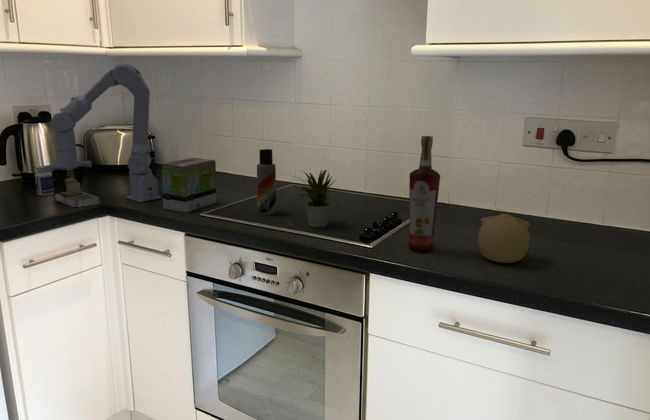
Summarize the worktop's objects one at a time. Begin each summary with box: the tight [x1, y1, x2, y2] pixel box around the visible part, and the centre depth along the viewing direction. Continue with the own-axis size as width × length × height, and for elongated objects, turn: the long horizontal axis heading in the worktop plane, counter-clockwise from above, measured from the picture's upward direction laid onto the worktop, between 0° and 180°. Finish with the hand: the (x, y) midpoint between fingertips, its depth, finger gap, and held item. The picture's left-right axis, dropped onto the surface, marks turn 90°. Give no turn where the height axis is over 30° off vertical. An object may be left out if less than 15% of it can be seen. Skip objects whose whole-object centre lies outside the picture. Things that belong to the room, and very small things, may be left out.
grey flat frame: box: [54, 190, 101, 208], centre depth 174 cm, size 15×8×2 cm, turn 49°
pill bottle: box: [34, 165, 55, 197], centre depth 183 cm, size 5×5×10 cm
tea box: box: [161, 157, 217, 213], centre depth 169 cm, size 15×10×15 cm, turn 155°
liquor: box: [406, 135, 441, 253], centre depth 128 cm, size 7×7×28 cm
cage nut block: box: [60, 177, 82, 197], centre depth 175 cm, size 4×4×6 cm
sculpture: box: [477, 213, 531, 264], centre depth 124 cm, size 11×12×11 cm
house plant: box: [291, 169, 338, 228], centre depth 151 cm, size 14×14×16 cm
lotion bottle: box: [256, 148, 277, 216], centre depth 161 cm, size 6×6×20 cm
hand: (71, 190), depth 176 cm, fingers closed on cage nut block, 4 cm apart
